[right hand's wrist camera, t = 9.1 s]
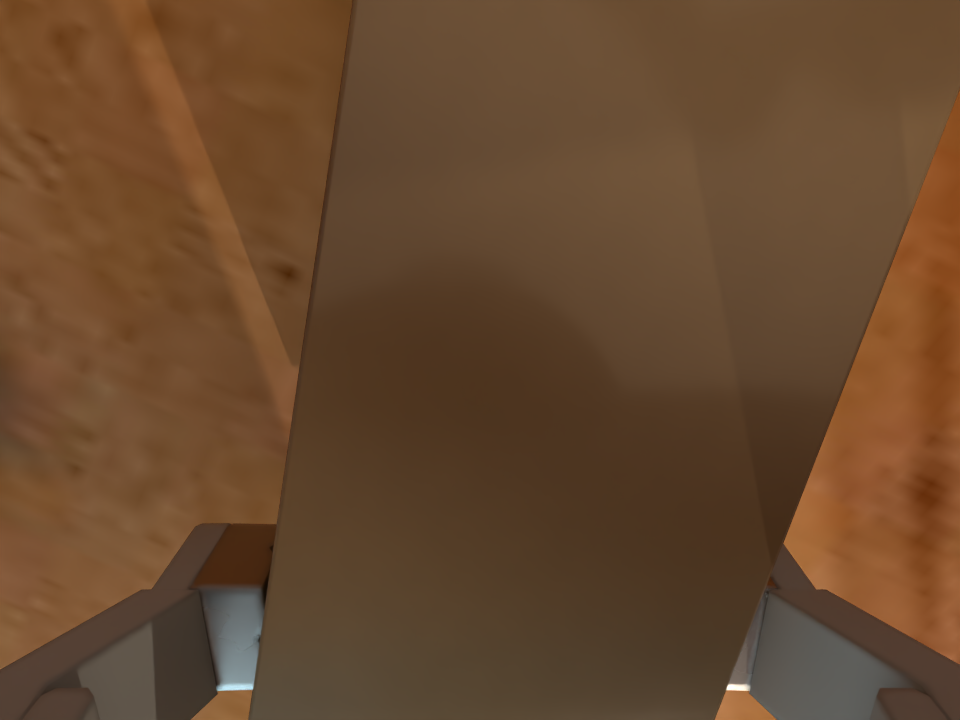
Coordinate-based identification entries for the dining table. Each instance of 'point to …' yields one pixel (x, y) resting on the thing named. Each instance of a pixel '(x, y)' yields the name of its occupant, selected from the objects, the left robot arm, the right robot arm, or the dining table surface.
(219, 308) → the dining table surface
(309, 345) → the cabinet
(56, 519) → the dining table surface
